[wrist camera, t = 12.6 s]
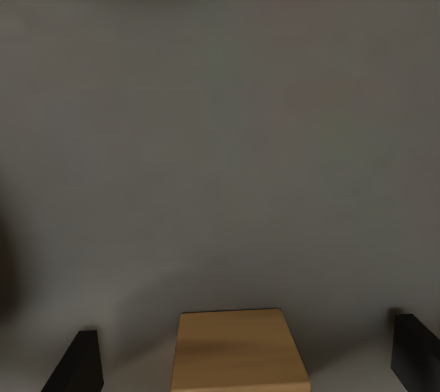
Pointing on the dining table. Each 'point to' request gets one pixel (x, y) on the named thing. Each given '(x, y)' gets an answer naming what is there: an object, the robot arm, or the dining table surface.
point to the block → (237, 353)
